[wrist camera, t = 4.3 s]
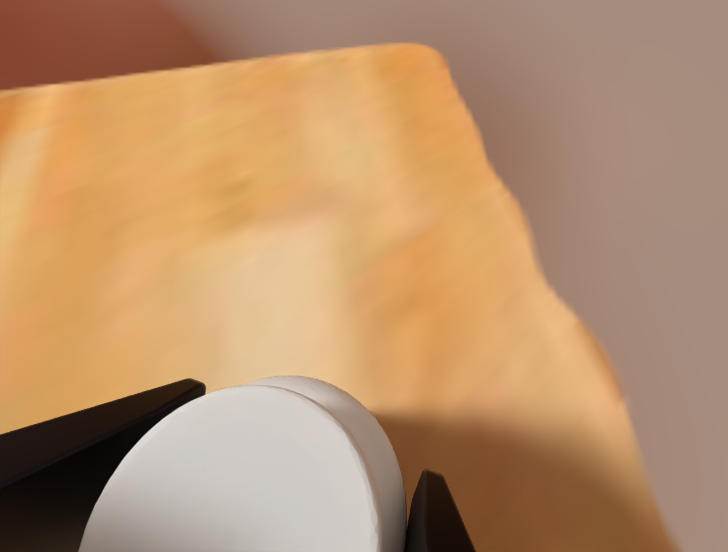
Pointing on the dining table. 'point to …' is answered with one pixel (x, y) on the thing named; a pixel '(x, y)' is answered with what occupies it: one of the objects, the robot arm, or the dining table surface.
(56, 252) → the dining table surface
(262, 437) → the pill bottle
